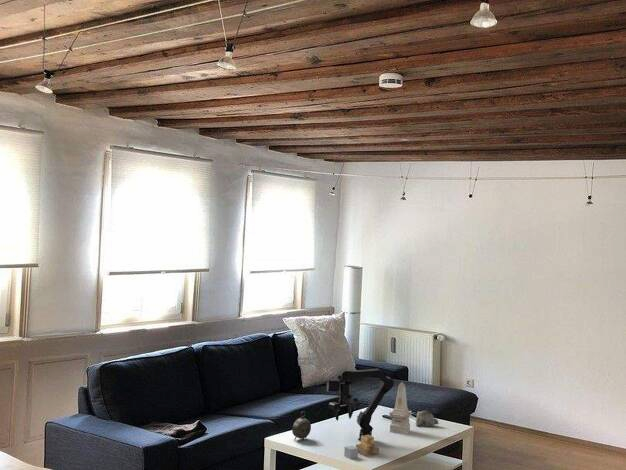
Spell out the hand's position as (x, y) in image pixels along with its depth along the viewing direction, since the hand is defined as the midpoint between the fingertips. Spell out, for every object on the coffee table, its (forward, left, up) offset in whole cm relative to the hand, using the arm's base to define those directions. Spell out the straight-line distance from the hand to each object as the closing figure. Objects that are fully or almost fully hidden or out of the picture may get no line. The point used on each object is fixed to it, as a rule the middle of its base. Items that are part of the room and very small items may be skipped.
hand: (343, 419), depth 382 cm
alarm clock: (+20, -12, -12) cm, 26 cm away
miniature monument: (-43, +2, -12) cm, 45 cm away
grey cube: (+14, +24, -12) cm, 30 cm away
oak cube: (+2, +23, -8) cm, 24 cm away
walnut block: (+2, +23, -12) cm, 26 cm away
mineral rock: (-66, +2, -12) cm, 67 cm away
